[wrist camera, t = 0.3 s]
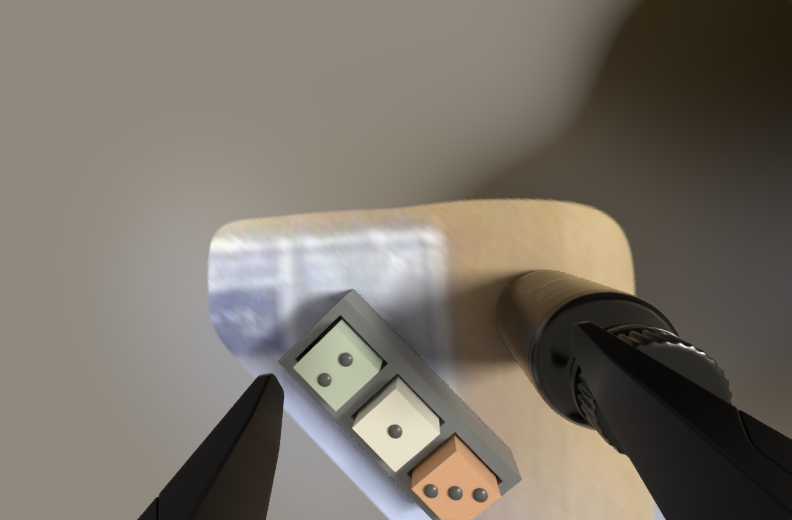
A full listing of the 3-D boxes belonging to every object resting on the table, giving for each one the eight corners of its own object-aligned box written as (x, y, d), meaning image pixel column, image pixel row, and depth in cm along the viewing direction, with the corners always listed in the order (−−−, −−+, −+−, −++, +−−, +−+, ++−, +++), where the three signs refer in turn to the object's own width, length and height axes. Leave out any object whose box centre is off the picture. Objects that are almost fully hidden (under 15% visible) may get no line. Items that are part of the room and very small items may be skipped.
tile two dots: (384, 356, 23) (378, 372, 20) (345, 392, 24) (335, 412, 21) (344, 316, 23) (334, 326, 20) (307, 353, 24) (292, 368, 21)
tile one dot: (438, 412, 23) (440, 434, 20) (398, 447, 24) (395, 473, 21) (399, 371, 23) (395, 389, 20) (360, 407, 24) (351, 429, 21)
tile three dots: (493, 467, 23) (501, 497, 20) (451, 501, 24) (454, 534, 21) (453, 427, 23) (456, 452, 20) (413, 461, 24) (411, 490, 21)
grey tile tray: (510, 449, 25) (521, 479, 22) (447, 501, 25) (449, 537, 23) (353, 289, 25) (343, 297, 22) (295, 346, 26) (278, 361, 23)
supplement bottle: (483, 347, 24) (537, 460, 12) (508, 258, 23) (592, 287, 12) (576, 372, 24) (727, 515, 12) (605, 282, 23) (797, 338, 11)
